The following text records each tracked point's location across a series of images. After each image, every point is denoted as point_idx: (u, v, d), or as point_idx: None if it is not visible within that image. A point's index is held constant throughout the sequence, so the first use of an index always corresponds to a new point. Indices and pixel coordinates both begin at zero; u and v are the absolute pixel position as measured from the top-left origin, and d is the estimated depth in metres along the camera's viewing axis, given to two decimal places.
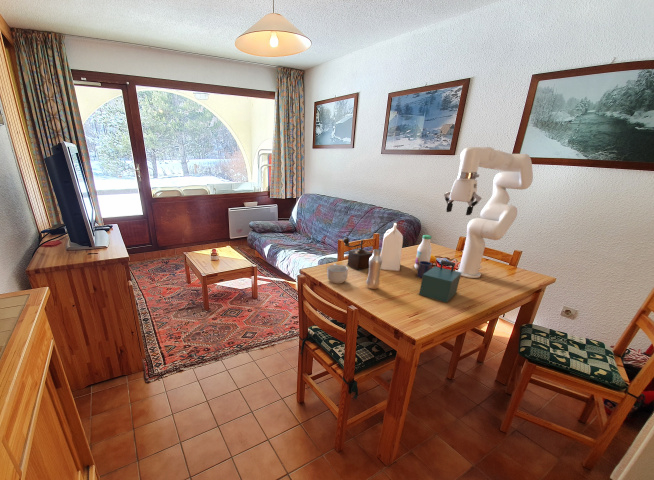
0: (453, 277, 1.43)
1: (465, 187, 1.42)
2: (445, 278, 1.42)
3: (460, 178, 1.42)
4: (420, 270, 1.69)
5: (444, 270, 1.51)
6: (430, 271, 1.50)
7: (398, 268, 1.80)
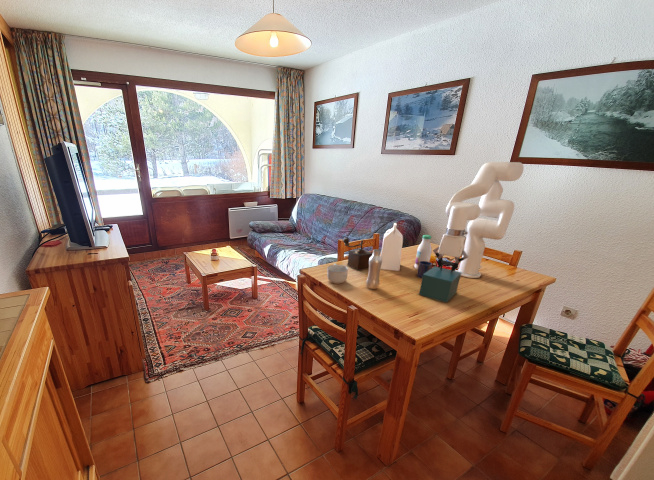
0: (453, 277, 1.43)
1: (455, 243, 1.43)
2: (445, 278, 1.42)
3: (450, 235, 1.42)
4: (420, 270, 1.69)
5: (444, 270, 1.51)
6: (430, 271, 1.50)
7: (398, 268, 1.80)
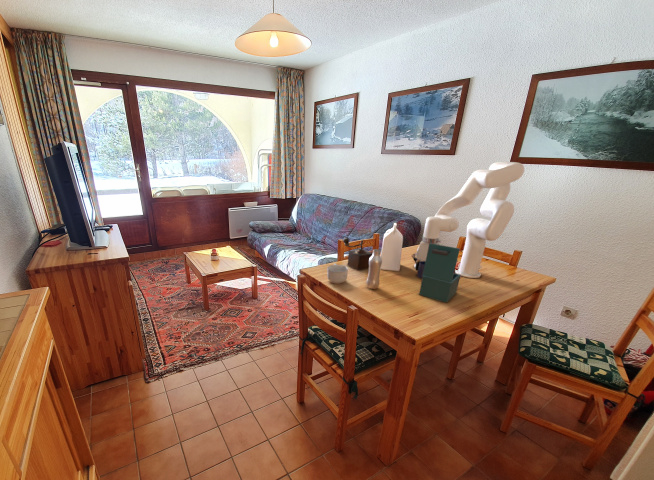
0: (452, 269, 1.37)
1: None
2: (444, 276, 1.40)
3: (426, 243, 1.62)
4: (420, 270, 1.69)
5: None
6: (427, 262, 1.43)
7: (398, 268, 1.80)
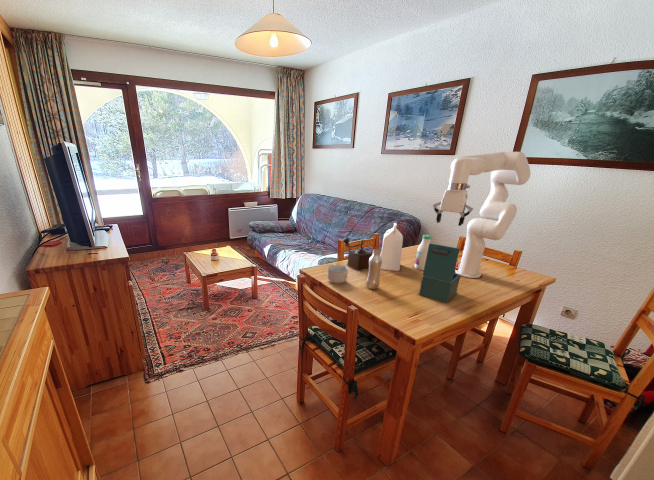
0: (452, 269, 1.37)
1: (457, 198, 1.41)
2: (444, 276, 1.40)
3: (452, 189, 1.40)
4: None
5: None
6: (427, 262, 1.43)
7: (398, 268, 1.80)
